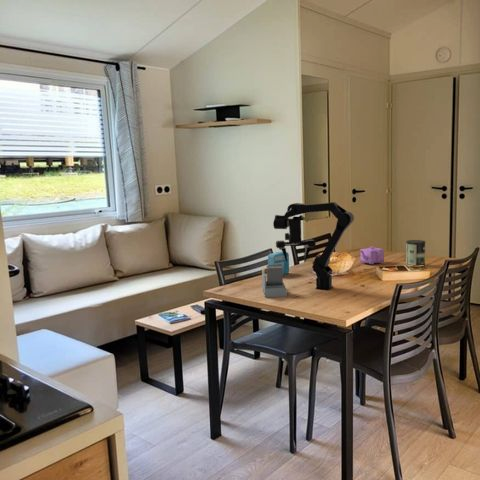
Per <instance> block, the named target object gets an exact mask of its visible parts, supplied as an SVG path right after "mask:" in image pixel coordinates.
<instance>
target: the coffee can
mask: <svg viewBox="0 0 480 480" xmlns="http://www.w3.org/2000/svg"><path fill="white" fill-rule="evenodd" d="M405 244H406V247H405V248H406V251H405V253H406V260H405V261H406V262H405V264H406V263H407V264H412V265H425V266H426V240H422V239H409V240H406V241H405Z"/></svg>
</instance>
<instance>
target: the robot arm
mask: <svg viewBox="0 0 480 480" xmlns="http://www.w3.org/2000/svg"><path fill="white" fill-rule="evenodd" d="M286 210H287V211H286V212H285V213H284V215H279V214H275V215H274V219H273V222H272V223H273V225H272V226H273V229H275V230H287V228H289V229H288V230H289V232H285V233H284V240H277V241H276V242H275V248H277V249H278V250H281V252H283V254H284V257H285V260H286V262H287V255H286V252H287V248H286V247H289V246H290V247H291V246H293V247H294V246H305V247H304V249H305V250H304V261H305V262H306V261H307V258H308V256H309V253H310V252H311V249H314V248H315V247H316V246H317V245H316V241H315V240H314V239H305V241H304V240H303V241H302V221H305V220H306V218H305V217H304V216H303V214H306V213H316V212H317V213H318V212H330V213H331V214H332V215H333V216H334V217H335V218H336V219H337V221H336V224H335V229H334V231H333V233H332V234H331V237H330V238H329V240H328V242H327V243H326V246H325V247H324V250H323V251H322V253H320V254H318V255H316V256H315V259H314V261H313V262H311V263H312V265H311V266H312V270H313V272H314V273H315V276H316V278H315V282H316V283H315V286H316V287H315V290H326V291H329V290H331V289H333V288H334V286H333V283H332V282H333V281H332V280H333V279H332V278H333V277H332V273H333V269H332V268H331V267H330V266H329V264H330V262H331V261H330V260H331V256H332V254H333V253H334V251H335V249H336V248H337V245H338V243H339V241H340V240H341V237H342V236H343V234H344V232H346V230H347V229H348V228H349V227H350V226H351V224H352V223H353V222H354V220H355V215H354V214H353V213H352V212H351V211H347V210H346V209H345V208H343V207H342V206H340V205H339V204H338V203H337V202H335V201H331V202H324V203H323V202H322V203H310V204H307V203H301V202H300V203H299V202H293V203H291V204H289V205H288V206H287V209H286ZM298 215H299V216H298Z"/></svg>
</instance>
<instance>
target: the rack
mask: <svg viewBox="0 0 480 480" xmlns="http://www.w3.org/2000/svg"><path fill="white" fill-rule="evenodd" d="M261 279H262V292H263V295H265V296H264V298H283V297H285V298H286V297H288V296H287V291H288V290H287V287H286V285H285V283H284V282H283V285H277V286H267V274H266V269H265V267H262V269H261Z"/></svg>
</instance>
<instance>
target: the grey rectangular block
mask: <svg viewBox="0 0 480 480" xmlns="http://www.w3.org/2000/svg"><path fill="white" fill-rule="evenodd" d="M283 280H284V279H283V275H282V265H268V264H267V265H266V281H267V286H277V285H283V283H284V281H283Z"/></svg>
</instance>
